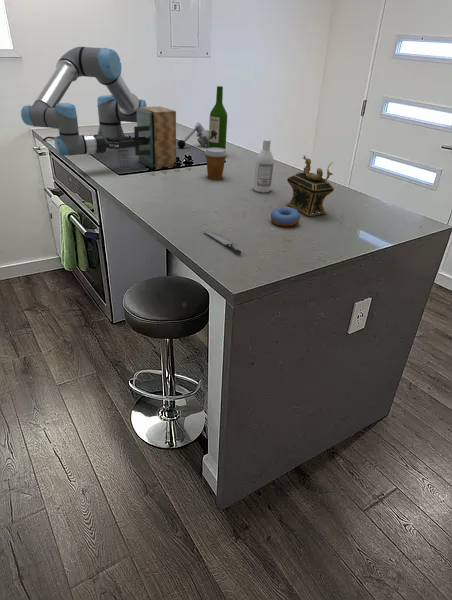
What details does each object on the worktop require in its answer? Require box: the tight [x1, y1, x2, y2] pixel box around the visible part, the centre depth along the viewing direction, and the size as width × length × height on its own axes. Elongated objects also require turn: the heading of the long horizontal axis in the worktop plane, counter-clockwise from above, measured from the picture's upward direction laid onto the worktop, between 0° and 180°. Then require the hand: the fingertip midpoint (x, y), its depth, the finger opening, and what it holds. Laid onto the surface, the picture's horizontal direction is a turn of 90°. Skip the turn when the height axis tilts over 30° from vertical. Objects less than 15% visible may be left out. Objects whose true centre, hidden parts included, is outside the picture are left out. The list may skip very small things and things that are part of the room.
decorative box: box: [286, 155, 335, 217], centre depth 155 cm, size 20×10×20 cm, turn 28°
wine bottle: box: [208, 85, 228, 150], centre depth 218 cm, size 9×9×32 cm
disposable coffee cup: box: [204, 147, 228, 181], centre depth 187 cm, size 10×10×12 cm
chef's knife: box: [204, 231, 242, 255], centre depth 131 cm, size 19×1×3 cm
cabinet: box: [139, 105, 177, 169], centre depth 199 cm, size 11×14×24 cm
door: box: [133, 108, 154, 169], centre depth 194 cm, size 7×14×24 cm, turn 34°
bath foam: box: [253, 138, 274, 194], centre depth 173 cm, size 7×7×20 cm
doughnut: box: [270, 206, 301, 227], centre depth 147 cm, size 10×10×5 cm
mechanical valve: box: [177, 122, 209, 149], centre depth 239 cm, size 10×18×15 cm
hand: (146, 140), depth 192 cm, fingers closed on door, 2 cm apart
